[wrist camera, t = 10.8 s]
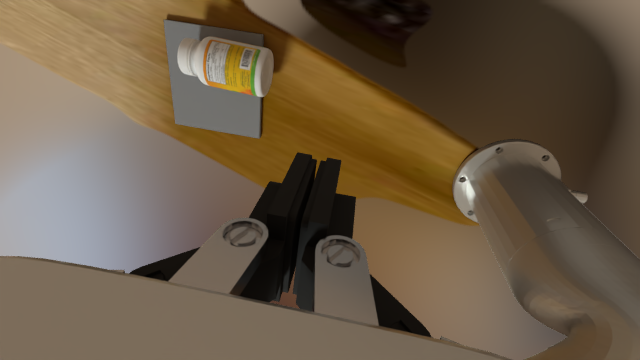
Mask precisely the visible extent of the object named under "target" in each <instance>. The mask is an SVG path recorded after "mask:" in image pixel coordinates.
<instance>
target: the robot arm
mask: <svg viewBox="0 0 640 360" xmlns="http://www.w3.org/2000/svg"><path fill="white" fill-rule="evenodd" d="M498 147H499V148H498ZM496 148H498V149H496ZM316 163H317V160H316V159H312V155H309V154H303V153H297V154H296V156H295V158H294V160H293V162H292V164H291V166H290V168H289V170H288V172H287V174H286V176H285V178H284V180H283V182H282V183H277V182H272V181H270V182H269V183H268V185H267V187H266V188H265V190H264V192H263V194H262V195H261V197H260V199H259V201H258V202H257V204H256V206H255V208H254V210H253V211H252V213H251V215H250V217H249V218H237V219H232V220H230V221H228V222H226V223H224V224H223V225H222V226H220V228H219V229H218V230H217V231H216V232H215V233H214V234H213V235H212V236H211V237H210V238H209V239H208V240H207V241H206V242H205V243H204V244H203V245H202V246H201V247H199V248H196V249H193V250H190V251H187V252H184V253H181V254H178V255H175V256H172V257H169V258H166V259H163V260H160V261H157V262H154V263H151V264H148V265H145V266H142V267H140V268H138V269H136V270H133V271H132V272H130V273H129V274H128V273H125V271H124V270H107V269H102V268H97V267H92V266H86V265H80V264H74V263H68V262H61V261H56V260H49V259H43V258H31V257H21V256H0V360H512V359H509V358H506V357H503V356H500V355H497V354H494V353H491V352H488V351H484V350H480V349H476V348H472V347H468V346H464V345H461V344H459V343H456V342H454V341H452V340H449V339H447V338H444V337H442V336H441V338H440V339H436V338H433V337H431V335H430V333H429V332H428V330H427V329H426V328H425V327H424V326H423V324H421V323H420V322H419V321H418V320H417V319H416V318H415V317H414V316H413V315H412V314H411V313H410V312H409V311H408V310H407V309H406V308H405V307H404V306H403V305H402V304H401V303H399V302H398V300H396V299H395V298H394V297H393V296H392V295H391V294H390V293H389V292H388V291H387V290H386V289H385V288H384V287H383V286H382V285H381V284H380V283H379V282H378V281H377V280H376V279H375V278H374V277H372V276H371V275H370V274H369V269H368V263H367V257H366V253H365V251H364V249H363V248H362V246H361V245H360V244H359V243H358V242H356V241H355V240H353V239H352V236H353V224H354V213H355V202H356V197H353V196H348V195H342V194H337V193H336V188H337V183H338V177H339V171H340V166H341V160H337V159H332V158H327V160H326V161H321V162H320V165H319V168H318V171H317V174H316V177H315V171H316ZM461 177H462V178H461ZM314 178H315V180H314ZM453 196H454V199H455V202H456V204H457V206H458V208H459V209H460V210H461V212H462V213H463V214H464V215H465V216H466V217H468V218H470V219H471V220H473V221H475V222H478V223H479V224H480V226H481V228H482V230H483V232H484V235H485V237H486V239H487V241H488V243H489V245H490V247H491V249H492V251H493V254H494V256H495V258H496V260H497V262H498V264H499V266H500V268H501V270H502V272H503V274H504V276H505V279H506V281H507V283H508V285H509V287H510V289H511V291H512V293H513V294H514V297H515V298H516V300H517V301H518V303H519V304H520V305H521V307H522V308H523V309H524V310H525V311H526V312H527V313H528V314H530V315H531V316H532V317H533V318H534V319H536V320H537V321H539V322H540V323H542V324H543V325H545V326H547V327H549V328H551V329H553V330H555V331H557V332H559V333H561V334H563V335H565V336H567V338H565V339H564V340H562V341H560V342H559V343H557V344H555V345H553V346H551V347H548V348H547V349H546V350H545V351H542V352H540V353H538V354H536V355H534V356H531V357H529V358H527V359H524V360H640V259H639V258H638V257H637V256H636V255H635V254H634V253H633V252H632V251H631V250H630V249H628V247H626V246H625V245H624V244H623V243H622V242H621V241H620V240H619V239H618V238H617V237H616V236H615V235H614V234H613V233H611V232H610V230H609V229H608V228H606V227H605V226H604V225H603V224H602V223H601V222H600V221H599V220H598V219H597V218H596V217H595V216H594V215H593V214H592V213H591V212H590V211H589V210H588V209H587V208H586V207H585V206H584V205H583V204H582V203H585V202H586V201H587V198H588V197H587V194H586V193H585V192H580V191H571V190H570V189H569V188H568V187H567V186H566V185H565V184H564V183H563V182H562V181H561V169H560V166H559V164H558V161H557V160H556V159H555V157H554V156H553V154H551V153H550V152H549V151H548V150H547V149H546V148H544V147H542V146H541V145H539V144H537V143H534V142H531V141H527V140H521V139H508V140H503V141H497V142H495V143H491V144H488V145H486V146H484V147H482V148H480V149H478V150H477V151H475V152H474V153H473V154H471V155H470V156H469V157H468V158H467V159H466V160H465V161H464V162H463V163H462V164H461V166H460V167H459V169H458V170H457V172H456V175H455V177H454V181H453ZM295 267H296V271H295ZM294 271H295V279H294V288H293V294H297V299H296V304H297V305H298V306H299V308H300V309H297V308H293V307H288V306H283V305H278V304H274V303H269V302H270V301H272V300H274V301H278V302H279V301H280V297H281V294H282V292H287V293H288V291H289V288H290V284H291V281H292V278H293V274H294Z"/></svg>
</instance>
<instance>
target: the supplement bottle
mask: <svg viewBox="0 0 640 360" xmlns="http://www.w3.org/2000/svg"><path fill="white" fill-rule="evenodd" d="M177 59H178V65H179V68H180V70H181V71H182V72H183V73H184V74H187V75H191V76H198V78H199V79H200V81H201V82H202V83H204V84H205V85H208V86H212V87H217V88H221V89H226V90H230V91H235V92H239V93H244V94H248V95H253V96H258V97H264V96H265V95H266V94H267V93H268V91H269V89H270V85H271V81H272V76H273V69H274V58H273V53H272V51H271V50H270V49H268V48H265V47H260V46H255V45H251V44H246V43H241V42H236V41H232V40H227V39H222V38H218V37H211V36H210V37H206V38H204V39H203V40H202V41H199V40H197V39H191V38H185V39H183V40H182V41H181V43H180V45H179V48H178V55H177Z"/></svg>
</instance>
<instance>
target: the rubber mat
mask: <svg viewBox="0 0 640 360" xmlns="http://www.w3.org/2000/svg"><path fill="white" fill-rule="evenodd" d="M164 28H165V37H166V46H167V54H168V63H169V72H170V80H171V89H172V98H173V107H174V115H175V124H180V125H186V126H191V127H197V128H203V129H208V130H214V131H220V132H225V133H231V134H237V135H243V136H248V137H254V138H260V137H261V109H262V97H258V96H253V95H248V94H244V93H239V92H235V91H230V90H226V89H221V88H217V87H212V86H208V85H205V84H204V83H202V82H201V81H200V79H199V78H198V76H191V75H187V74H184V73H183V72H182V71H181V70H180V68H179V65H178V59H177V55H178V48H179V45H180V43H181V41H182V40H183V39H185V38H191V39H197V40H199V41H202V40H203V39H204V38H206V37H210V36H211V37H218V38H222V39H227V40H232V41H236V42H241V43H246V44H251V45H255V46H260V47H263V42H264V34H257V33H251V32H244V31H238V30H232V29H225V28H219V27H212V26H206V25H199V24H193V23H186V22H180V21H173V20H167V19H166V20H164Z"/></svg>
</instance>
